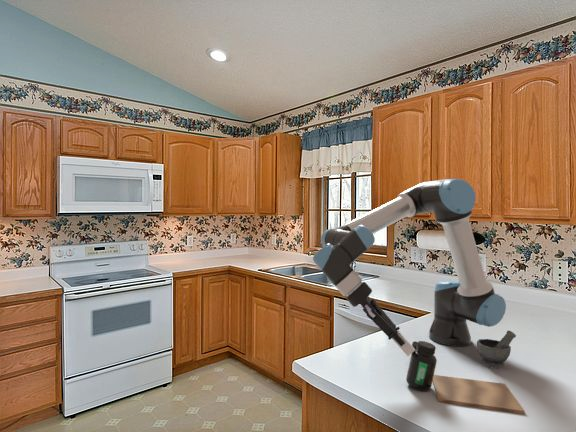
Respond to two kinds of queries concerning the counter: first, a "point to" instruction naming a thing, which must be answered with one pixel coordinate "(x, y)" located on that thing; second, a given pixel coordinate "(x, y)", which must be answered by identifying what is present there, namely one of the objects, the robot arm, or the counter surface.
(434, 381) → the cutting board
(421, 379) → the supplement bottle
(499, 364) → the mortar and pestle
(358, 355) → the counter surface
